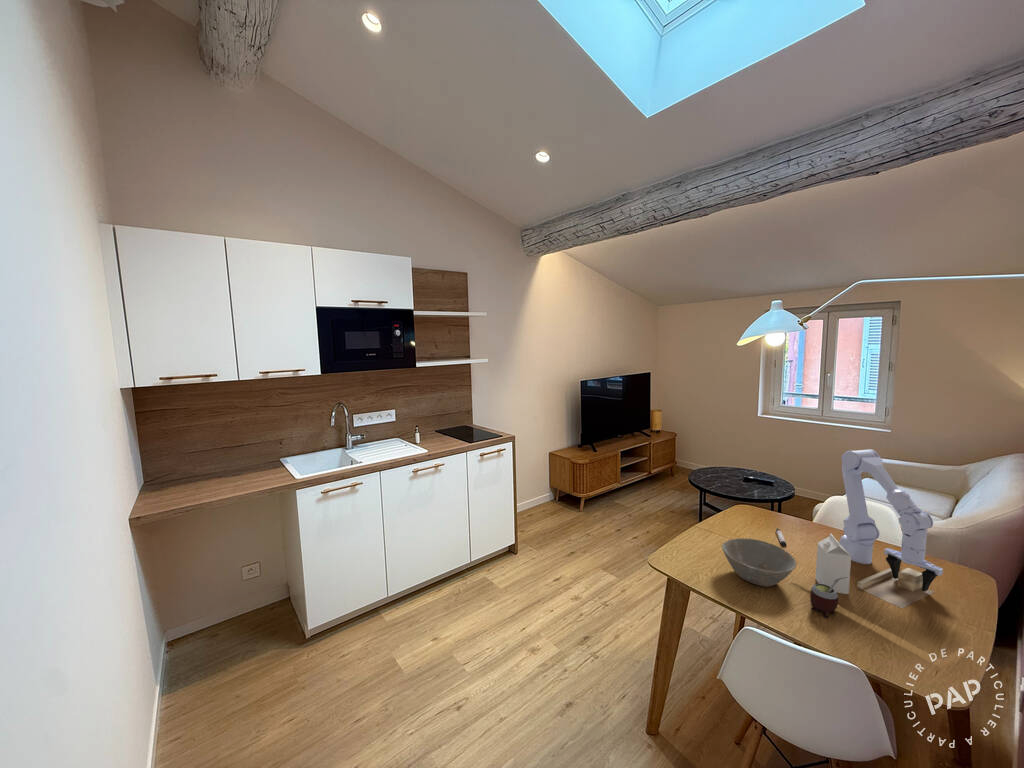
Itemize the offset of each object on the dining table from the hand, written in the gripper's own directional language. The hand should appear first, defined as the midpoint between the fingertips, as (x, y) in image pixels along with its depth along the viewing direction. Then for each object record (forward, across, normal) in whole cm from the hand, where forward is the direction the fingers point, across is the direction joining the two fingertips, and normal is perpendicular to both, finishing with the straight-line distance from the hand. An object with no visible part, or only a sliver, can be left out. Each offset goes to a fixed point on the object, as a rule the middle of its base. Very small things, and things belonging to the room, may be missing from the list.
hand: (910, 583), depth 137 cm
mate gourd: (+3, -5, -38) cm, 38 cm away
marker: (+3, -42, -4) cm, 42 cm away
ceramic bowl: (+3, -26, -40) cm, 48 cm away
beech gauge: (+1, 0, 0) cm, 1 cm away
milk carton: (+3, -11, -24) cm, 26 cm away
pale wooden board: (+2, -1, -6) cm, 7 cm away
